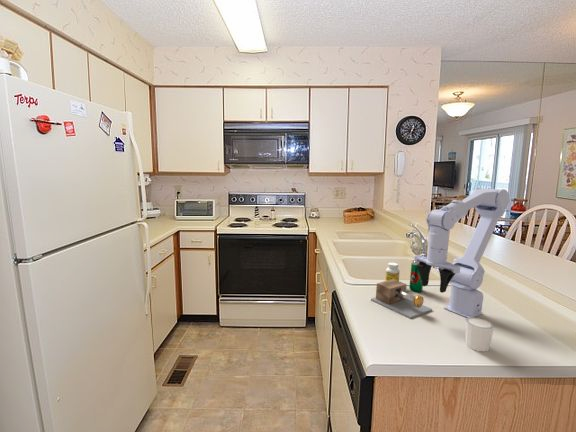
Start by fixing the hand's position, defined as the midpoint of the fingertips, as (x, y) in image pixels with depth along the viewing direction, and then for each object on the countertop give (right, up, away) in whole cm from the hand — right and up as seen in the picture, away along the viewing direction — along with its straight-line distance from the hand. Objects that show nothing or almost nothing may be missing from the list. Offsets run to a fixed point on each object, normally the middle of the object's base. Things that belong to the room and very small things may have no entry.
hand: (433, 288), depth 103 cm
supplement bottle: (-4, -6, +31) cm, 31 cm away
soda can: (+5, -7, +27) cm, 28 cm away
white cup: (+6, -13, -14) cm, 20 cm away
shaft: (-5, -7, +9) cm, 13 cm away
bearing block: (-9, -8, +15) cm, 20 cm away
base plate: (-7, -9, +12) cm, 16 cm away
